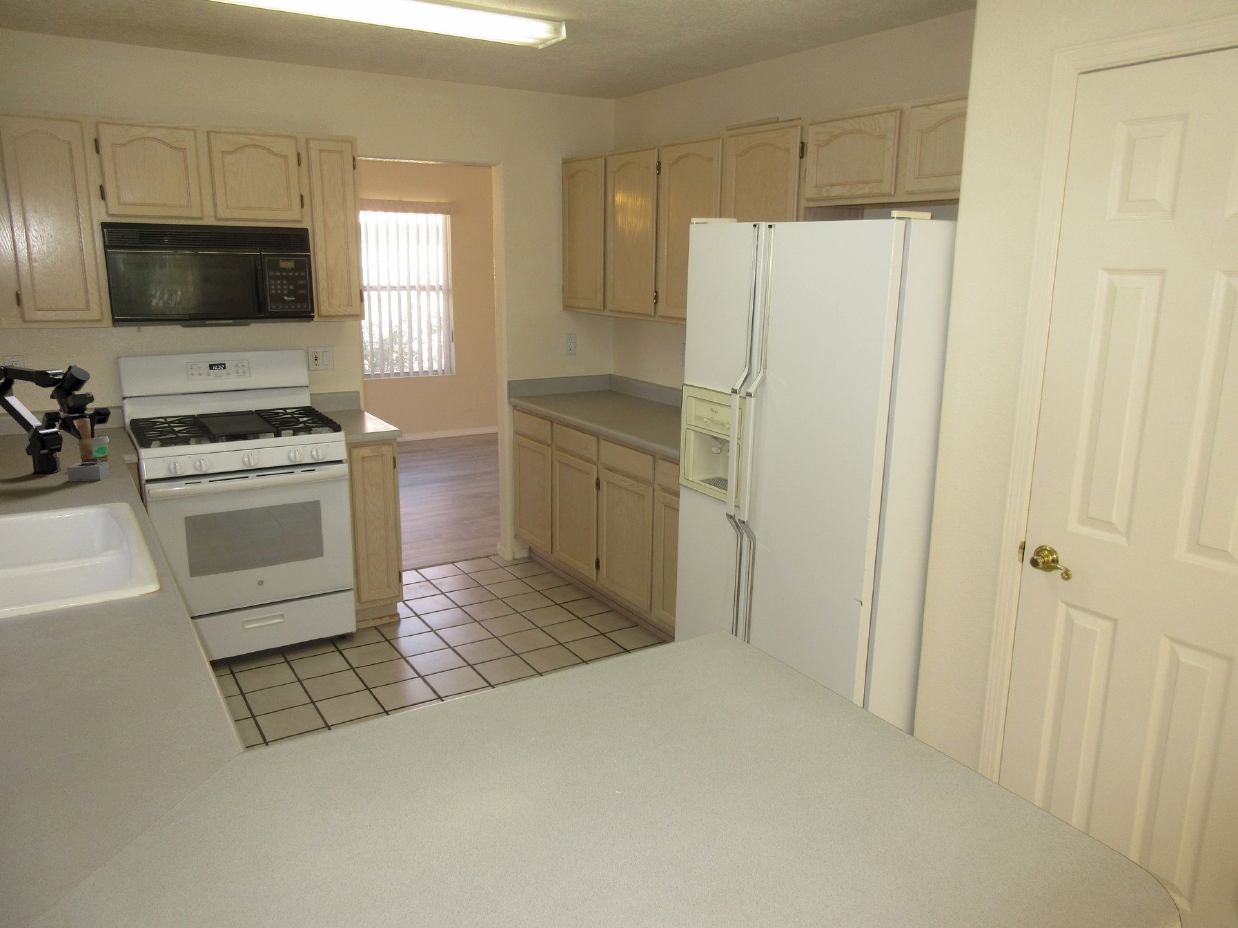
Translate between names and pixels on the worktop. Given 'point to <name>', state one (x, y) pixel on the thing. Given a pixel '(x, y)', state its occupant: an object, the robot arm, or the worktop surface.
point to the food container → (99, 449)
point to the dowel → (85, 438)
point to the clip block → (88, 471)
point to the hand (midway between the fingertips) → (86, 438)
